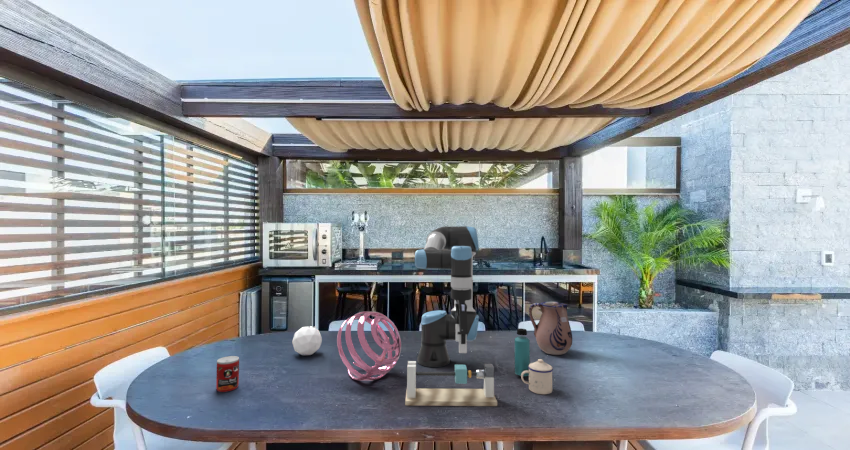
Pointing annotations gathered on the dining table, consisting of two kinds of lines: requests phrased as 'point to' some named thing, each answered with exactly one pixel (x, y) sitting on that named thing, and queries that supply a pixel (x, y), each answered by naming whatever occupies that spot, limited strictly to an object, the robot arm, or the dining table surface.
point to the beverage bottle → (522, 352)
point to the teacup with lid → (539, 377)
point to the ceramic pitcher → (552, 328)
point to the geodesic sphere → (307, 340)
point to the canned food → (227, 373)
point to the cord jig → (450, 390)
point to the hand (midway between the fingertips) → (460, 346)
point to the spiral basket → (384, 345)
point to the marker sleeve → (460, 374)
